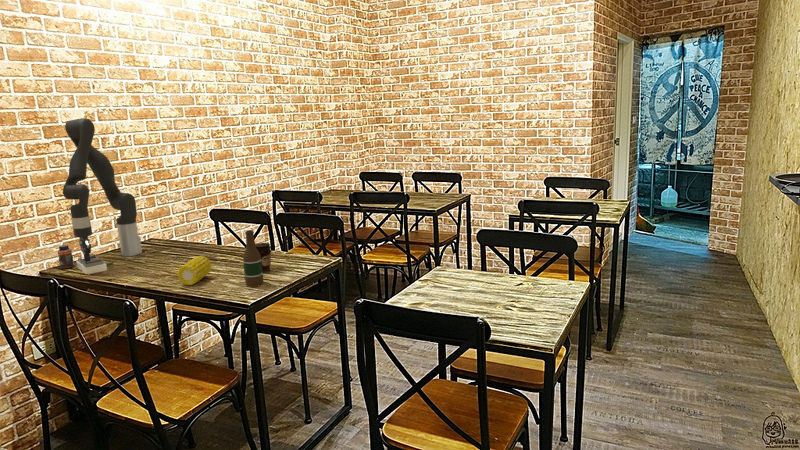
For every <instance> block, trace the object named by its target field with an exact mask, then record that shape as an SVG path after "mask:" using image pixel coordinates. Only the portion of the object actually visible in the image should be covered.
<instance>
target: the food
mask: <svg viewBox="0 0 800 450" xmlns="http://www.w3.org/2000/svg"><path fill="white" fill-rule="evenodd" d="M211 270H212V264H211V261H210V260H209V258H207V257H206V256H202V255H199V256H195V257H194V258H192V259H190V260H188V261H187V262H186V263H185V264H184V265H183V264H182V266H181V267H179V268H178V271H177V277H178V281H180V282H181V283H182V284H184V286H185V285H186V286H193V285H195V284H196V283H198V282H199V281H201V280H202V279H204V278H205V276H207V275H209V273H210V272H211Z"/></svg>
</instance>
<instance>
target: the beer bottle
mask: <svg viewBox="0 0 800 450" xmlns="http://www.w3.org/2000/svg"><path fill="white" fill-rule="evenodd" d="M244 234H245V241H246V242H245V243H246V244H245V245H246V246H245V247H246V248H245V250H244V252H243V255H242V264H243V270H244V271H243V273H244V282H245V284H246V286H247V287H250V286H255V287H259V286H258V285H260V286H261V285H263V284H264V273H263V271H262V261H261V255H260V253H259V251H258V250H257V249H256V246H255V244H256V241H255V235H254V234H255V231H254V230H253V229H248V230H246V231H245V233H244ZM262 283H263V284H262Z"/></svg>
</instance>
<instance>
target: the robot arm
mask: <svg viewBox="0 0 800 450" xmlns="http://www.w3.org/2000/svg"><path fill="white" fill-rule="evenodd" d="M64 129H65V132H66V134H67V136H68V137H69V138H70V140H71V141H72V142H73V144H74V146H75V147H76V149H75V151H74V152H73V154H72V156H71V158H70V161H69V165H68V166H69V168H68V175H67V177H66V179H65V180H66V181H65V183H64V185H63V187H62V195H63V197H64V198H65V199H67V200H70V201H71V200H72V201H73V200H79V201H78V203H75V204H73V205H71V206H70V216H71V225H72V230H73V236H74V237H75V238H78V239H79V240H78V244H79V246H80V250H81V252H82V254H83V257H84V260H85V261H86V262H88V261H90V254H92V244H91V240H90V239H89V237H90V236H92V235H93V229H92V224H91V219H90V215H89V208H88V207H89V205H88V204H89V198H90V189H89V187H88V186H87V185H86V184H83V183H80V184H79V182H82V181H84V180H86V178H87V172H88V171H87V169H88V168H87V167H89V168H90V170H91V171H92V173H93V175H94V177H95V178H96V180H97V182H98V183H99V184H100V187H101V188H102V189H103V192H104V195H105V196H106V198H107V200H108V202H109V204H110V207H112V208H113V209H114V210H117V211H120V216H119V217H117V218H116V226H117V233H118V234H117V235H118V240H119V245H120V252H121V253H120V254H121V256H122V257H134V256H137V255H140V254H143V249H142V243H141V236H139V232H138V231H139V230H138V227H137V226H138V224H137V216H138V212H137V203H136V199H135V197H134V195H133V194H131V193H130V192H129V193H127V192H122V191H121V190H120V189H119V187H118V185H117V184H116V180H115V174H116V173H115V169H114V167H113V165H112V163H111V161H110V160H109V158H108V157H107V155H105V154H104V153H103V152H101V151H100V150H98V149H97V148H95V146H93V145H92V143H93V139H94V136H95V131H96V130H95V129H96V128H95V124H94V123H93V121H92V120H91V119H90V118H87V117H86V118H85V117H83V118H77V119H71V120H67V121H66V122H65V125H64ZM77 183H78V184H77Z"/></svg>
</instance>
